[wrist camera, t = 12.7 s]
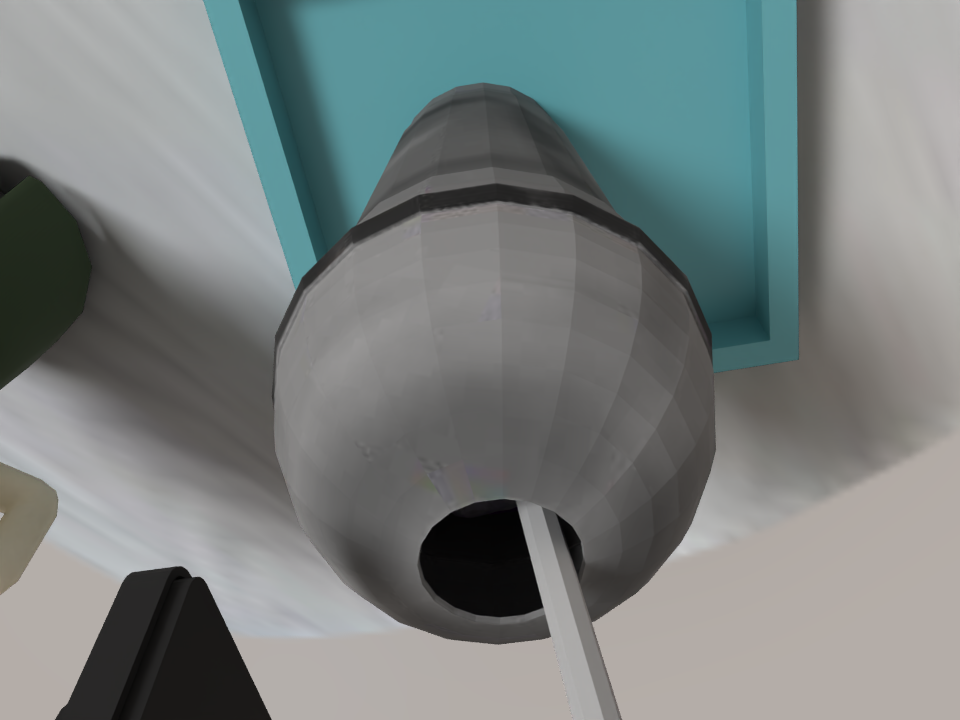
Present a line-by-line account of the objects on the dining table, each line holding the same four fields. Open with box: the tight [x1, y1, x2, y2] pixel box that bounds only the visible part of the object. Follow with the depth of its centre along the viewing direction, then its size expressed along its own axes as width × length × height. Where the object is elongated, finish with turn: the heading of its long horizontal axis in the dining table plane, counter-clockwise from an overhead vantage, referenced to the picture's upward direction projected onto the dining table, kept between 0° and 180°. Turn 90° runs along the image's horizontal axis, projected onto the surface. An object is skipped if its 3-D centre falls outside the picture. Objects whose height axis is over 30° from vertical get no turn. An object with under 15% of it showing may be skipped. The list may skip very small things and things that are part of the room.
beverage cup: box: [272, 82, 716, 720], centre depth 16 cm, size 7×7×20 cm
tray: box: [203, 0, 799, 373], centre depth 25 cm, size 14×14×2 cm
